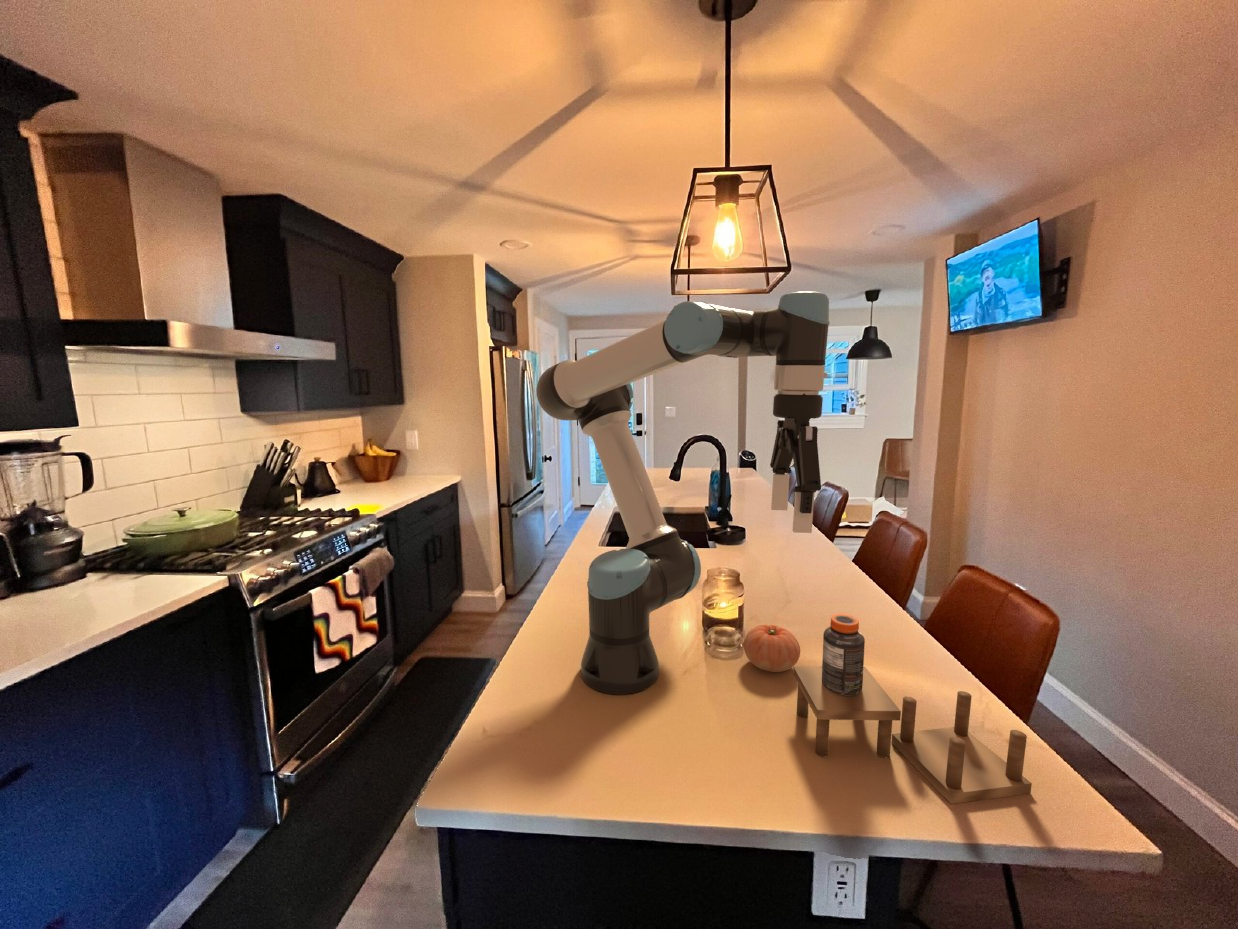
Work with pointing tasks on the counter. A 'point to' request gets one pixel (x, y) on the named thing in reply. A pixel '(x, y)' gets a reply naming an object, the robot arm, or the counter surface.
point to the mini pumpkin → (771, 648)
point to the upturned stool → (961, 757)
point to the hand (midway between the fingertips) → (789, 520)
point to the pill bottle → (843, 656)
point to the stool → (844, 707)
